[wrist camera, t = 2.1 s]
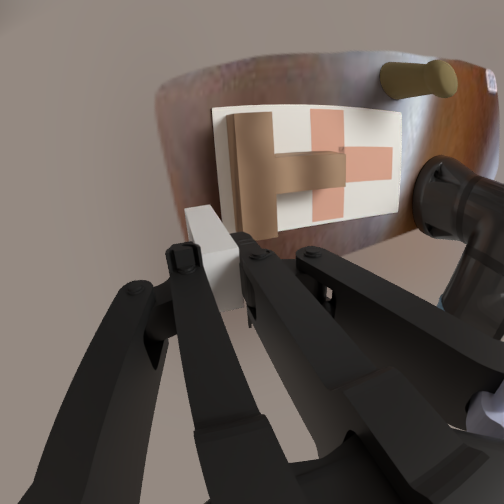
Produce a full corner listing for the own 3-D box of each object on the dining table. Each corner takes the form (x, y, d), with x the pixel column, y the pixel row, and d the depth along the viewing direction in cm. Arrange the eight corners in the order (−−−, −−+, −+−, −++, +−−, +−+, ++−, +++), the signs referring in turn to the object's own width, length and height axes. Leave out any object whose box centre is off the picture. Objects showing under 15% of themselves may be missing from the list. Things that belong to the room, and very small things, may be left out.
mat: (400, 112, 36) (401, 112, 36) (397, 211, 43) (397, 212, 43) (211, 108, 30) (211, 108, 29) (224, 239, 36) (224, 240, 36)
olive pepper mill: (407, 103, 36) (463, 106, 26) (379, 95, 34) (437, 94, 25) (407, 68, 33) (462, 65, 24) (379, 57, 32) (436, 49, 22)
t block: (327, 112, 33) (345, 112, 30) (328, 216, 39) (344, 225, 36) (225, 115, 30) (233, 113, 27) (235, 230, 36) (244, 242, 33)
